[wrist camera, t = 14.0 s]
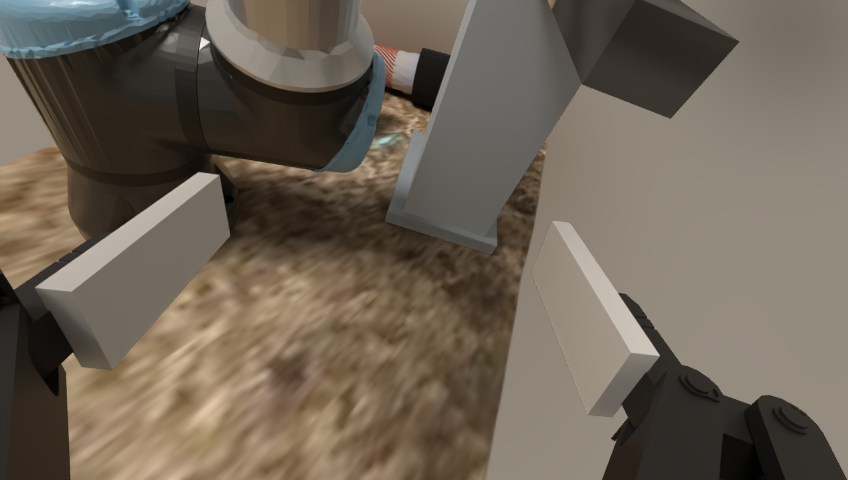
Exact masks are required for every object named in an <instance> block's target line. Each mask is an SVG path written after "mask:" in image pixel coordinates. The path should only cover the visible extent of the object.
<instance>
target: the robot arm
mask: <svg viewBox="0 0 848 480" xmlns="http://www.w3.org/2000/svg"><path fill="white" fill-rule="evenodd" d="M360 6H361V0H209V2H208V4H207V7H206V8H205V7H202V6H198V5H194V4H192V3H190V0H0V52H1V53H2V54H3V55H5V57H6V58H7V60H8V62H9V63H10V65H11V67H12V69H13V70H14V72H15V74H16V76H17V77H18V79H19V81H20V82H21V84H22V86H23V88H24V89H25V91H26V93H27V94H28V96H29V98H30V100H31V101H32V103H33V105H34V107H35V108H36V110H37V112H38V113H39V115H40V117H41V119H42V120H43V122H44V124H45V125H46V127H47V129H48V131H49V132H50V134H51V136H52V137H53V139H54V141H55V143H56V145H57V146H58V148H59V150H60V152H61V153H62V155H63V157H64V159H65V161H66V163H67V167H68V208H69V212H70V215H71V218H72V220H73V222H74V223H75V225H76V227H77V228H78V230H79V231H80V233H81V234H82V236H83V237H84V238H85V240H86V242H84V243H83V244H81V245H80V246H78V247H77V248H75V249H74V250H72V253H68V254H66V255H65V256H63V257H62V258H61V259H59V262H55V263H53V264H52V265H50V266H49V267H47V268H46V269H44V270H43V271H41V272H40V273H38V274H37V275H35V276H34V277H32V278H31V279H29V280H28V281H26V282H25V283H23V284H22V285H20V286H19V287H17V288H16V289H15V290H13V288H12V287H11V285H10V283H9V282H8V280H7V279H6V277H5V276H4V274H3V273H2V271H1V269H0V480H70V457H69V434H68V411H67V387H66V372H65V370H64V368H63V366H62V365H61V363H62V362H63V361H64V360H65V359H66V358H67V357H68V356H69V355H70V354H72V353H74V355H75V356H76V358H77V360H78V361H79V363H80V365H81V367H86V368H97V369H108V370H113V369H114V368H115V367H116V365H117V364H118V363H119V362H120V361H121V360H122V359H123V358H124V356H125V355H126V354H127V353H128V352H129V351H130V350H131V348H132V347H133V346H134V345H135V344H136V343H137V342H138V340H139V339H140V338H141V337H142V336H143V335H144V334H145V332H146V331H147V330H148V329H149V328H150V327H151V326H152V324H153V323H154V322H155V321H156V320H157V319H158V318H159V316H160V315H161V314H162V313H163V312H164V311H165V310H166V308H167V307H168V306H169V305H170V304H171V303H172V302H173V301H174V299H175V298H176V297H177V296H178V295H179V294H180V293H181V291H182V290H183V289H184V288H185V287H186V286H187V285H188V283H189V282H190V281H191V280H192V279H193V278H194V277H195V275H196V274H197V273H198V272H199V271H200V270H201V269H202V267H203V266H204V265H205V264H206V263H207V262H208V261H209V259H210V258H211V257H212V256H213V255H214V254H215V253H216V252H217V250H218V249H219V248H220V247H221V246H222V245H223V244H224V242H225V241H226V240H227V239H228V238H229V237H230V229H231V228H232V227H233V225H234V224H235V222H236V220H237V218H238V215H239V211H240V202H239V194H238V189H237V186H236V183H235V181H234V179H233V177H232V176H231V174H230V173H229V171H228V169H227V168H226V166H225V165H224V163H223V162H222V160H221V158H220V157H219V155H221V156H228V157H234V158H241V159H247V160H253V161H259V162H265V163H271V164H277V165H283V166H289V167H295V168H301V169H308V170H312V171H314V172H324V171H330V172H340V173H346V172H350V171H353V170H354V169H356V168H357V167H358V166H359V165H360V164H361V163H362V161H363V160H364V158H365V156H366V154H367V152H368V150H369V148H370V145H371V143H372V140H373V137H374V134H375V131H376V121H377V119H378V117H379V115H380V111H381V108H382V103H383V97H384V90H385V80H386V67H385V61H384V59H383V57H382V55H381V54H379V53H378V52H376V51H375V50H374V40H373V36H372V32H371V29H370V27H369V25H368V24H367V21H366V20H365V18H364V17H363V16H362V14H361V13H360ZM531 274H532V277H533V279H534V282H535V284H536V287H537V289H538V292H539V294H540V296H541V299H542V302H543V304H544V307H545V309H546V312H547V314H548V317H549V319H550V322H551V324H552V327H553V330H554V332H555V335H556V337H557V340H558V342H559V345H560V347H561V350H562V352H563V355H564V357H565V360H566V362H567V365H568V367H569V370H570V372H571V375H572V377H573V380H574V382H575V385H576V387H577V390H578V392H579V395H580V398H581V400H582V403H583V405H584V408H585V410H586V413H587V415H594V416H605V417H613V416H614V414H615V413H616V412H617V411H618V409H619V408H620V407H621V405H623V408H624V410H625V412H626V414H627V416H628V419H627V420H626V421H625V422H624V423H623V425H622V426H621V427H620V428H619V429H618V431H617V432H616V433H615V434H614V436H613V437H612V438H611V439H612V440H614V441H616V440H617V441H616V444H615V446H614V449H613V452H612V455H611V457H610V460H609V463H608V465H607V468H606V471H605V473H604V476H603V479H602V480H847V479H846V477H845V475H844V473H843V471H842V469H841V467H840V465H839V463H838V461H837V459H836V457H835V455H834V453H833V451H832V449H831V447H830V445H829V444H828V441H827V440H826V438H825V436H824V434H823V432H822V431H821V430H820V428H819V427H818V425H817V424H816V423H815V422H814V421H813V420H812V419H811V418H810V417H808V416H807V414H806V413H804V412H803V411H802V410H800V409H799V408H797V407H796V406H794V405H792V404H790V403H788V402H786V401H785V400H783V399H780V398H777V397H774V396H770V395H765V396H761V397H760V398H759V399H757V400H756V401H755V402H754V403H753V404H752V405H750V404H747V403H744V402H741V401H738V400H736V399H733V398H730V397H727V396H724V395H723V394H722V393H721V391H720V389H719V388H718V386H717V385H715V384H714V383H713V382H712V381H711V380H710V379H709V378H708V377H706V376H705V375H703V374H702V373H700V372H699V371H697V370H695V369H693V368H690V367H688V366H683V365H681V363H680V362H679V361H678V359H677V358H676V357H675V355H674V354H673V352H672V351H671V350H670V348H669V347H668V345H667V344H666V343H665V341H664V340H663V338H662V337H661V336H660V334H659V333H658V331H657V330H654V326H653V325H652V323H651V322H650V320H648V319H647V316H646V315H645V313H644V312H643V311H642V309H641V308H640V306H639V305H638V304H637V303H635V302H634V301H633V300H632V299H631V298H630V297H628V296H627V295H626V294H622V293H617V291H616V290H615V288H614V287H613V285H612V284H611V283H610V281H609V280H608V278H607V277H606V275H605V274H604V272H603V271H602V269H601V268H600V266H599V265H598V263H597V262H596V260H595V259H594V258H593V256H592V255H591V253H590V251H589V250H588V248H587V247H586V246H585V244H584V243H583V241H582V240H581V238H580V237H579V235H578V234H577V232H576V231H575V229H574V228H573V227H572V225H571V223H569V222H561V221H554V220H552V222H551V224H550V227H549V229H548V232H547V234H546V237H545V239H544V242H543V245H542V247H541V249H540V252H539V254H538V257H537V259H536V262H535V265H534V267H533V269H532V272H531Z"/></svg>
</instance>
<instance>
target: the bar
mask: <svg viewBox="0 0 848 480" xmlns="http://www.w3.org/2000/svg"><path fill="white" fill-rule="evenodd" d="M548 2H549V5H550V7H551V10H552V12H553V15H554V17H555V19H556V22H557V24H558V27H559V29H560V32H561V34H562V37H563V39H564V41H565V44H566V46H567V49H568V51H569V54H570V56H571V59H572V61H573V63H574V66H575V68H576V71H577V73H578V76H579V78H580V81H581V83H582V84H583V85H585V86H588V87H590V88H593V89H595V90H598V91H601V92H603V93H606V94H608V95H611V96H614V97H616V98H619V99H621V100H624V101H626V102H629V103H631V104H634V105H637V106H639V107H642V108H644V109H647V110H650V111H652V112H655V113H657V114H660V115H662V116H665V117H668V118H672V117H673V115H674V114H675V113H676V112H677V111H678V110H679V109H680V108H681V107H682V105H683V104H684V103H685V102H686V101H687V100H688V99H689V98H690V97H691V95H692V94H693V93H694V92H695V91H696V90H697V89H698V87H699V86H700V85H701V84H702V83H703V82H704V81H705V80H706V79H707V78H708V76H709V75H710V74H711V73H712V72H713V71H714V70H715V69H716V67H717V66H718V65H719V64H720V63H721V62H722V61H723V60H724V58H725V57H726V56H727V55H728V54H729V53H730V52H731V51H732V49H733V48H734V47H735V46H736V45H737V44H738V43H739V41H738V40H736V39H735V38H733V37H732V36H730V35H729V34H728V33H726V32H725V31H723V30H722V29H720V28H719V27H718V26H716V25H715V24H713V23H712V22H710V21H709V20H707V19H706V18H704V17H703V16H701V15H700V14H699V13H697V12H696V11H694V10H693V9H691V8H690V7H688V6H687V5H685V4H684V3H683V2H681V1H679V0H548Z"/></svg>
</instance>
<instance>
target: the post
mask: <svg viewBox="0 0 848 480" xmlns="http://www.w3.org/2000/svg"><path fill="white" fill-rule="evenodd" d="M581 84H582V83H581V81H580V78H579V76H578V73H577V71H576V68H575V66H574V63H573V61H572V59H571V56H570V54H569V51H568V49H567V46H566V44H565V41H564V39H563V37H562V34H561V32H560V29H559V27H558V24H557V22H556V19H555V17H554V15H553V12H552V10H551V7H550V5H549V2H548V0H469V3H468V6H467V9H466V12H465V15H464V18H463V21H462V24H461V27H460V30H459V33H458V36H457V39H456V42H455V45H454V48H453V51H452V54H451V57H450V59H449V62H448V65H447V68H446V71H445V74H444V77H443V80H442V83H441V86H440V89H439V92H438V95H437V98H436V101H435V104H434V107H433V110H432V113H431V116H430V119H429V122H428V125H427V128H426V131H425V134H424V133H421V132H418V131H415V130H414V131H413V134H412V137H411V140H410V143H409V146H408V149H407V152H406V155H405V159H404V162H403V165H402V168H401V171H400V174H399V177H398V180H397V183H396V187H395V190H394V193H393V196H392V199H391V202H390V205H389V208H388V211H387V215H386V218H385V222H388V223H391V224H394V225H397V226H401V227H404V228H407V229H410V230H413V231H416V232H420V233H423V234H426V235H429V236H432V237H435V238H439V239H442V240H445V241H448V242H451V243H454V244H458V245H461V246H464V247H467V248H470V249H474V250H477V251H480V252H483V253H486V254H489V255H491V254H492V253H493V252H494V250H495V249H496V247H497V216H498V214H499V213H500V211H501V210H502V208H503V207H504V205H505V203H506V202H507V200H508V199H509V197H510V196H511V194H512V192H513V191H514V189H515V188H516V186H517V185H518V183H519V181H520V180H521V178H522V177H523V175H524V174H525V172H526V170H527V169H528V167H529V166H530V164H531V163H532V161H533V159H534V158H535V156H536V155H537V153H538V152H539V150H540V148H541V147H542V145H543V144H544V142H545V141H546V139H547V137H548V136H549V134H550V133H551V131H552V130H553V128H554V127H555V125H556V123H557V122H558V120H559V119H560V117H561V116H562V114H563V112H564V111H565V109H566V107H567V106H568V104H569V103H570V101H571V100H572V98H573V96H574V95H575V94H576V92H577V90H578V89H579V87H580V86H581Z"/></svg>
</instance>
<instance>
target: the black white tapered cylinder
mask: <svg viewBox="0 0 848 480" xmlns="http://www.w3.org/2000/svg"><path fill="white" fill-rule="evenodd" d="M374 50H375V51H376V52H378V53H379V54H381V55H382V57H383V59H384V61H385V67H386V80H385V82H386V83H385V86H386V87H389V88H392V89H396V90H400V91H403V92H404V93H407V94H411V102H415V103H418V104H422V105H426V106H429V107H434V104H435V101H436V98H437V95H438V92H439V89H440V86H441V83H442V80H443V77H444V74H445V71H446V68H447V65H448V62H449V59H450V57H451V55H448V54H445V53H441V52H437V51H434V50H430V49H426V48H423V49H422V51H421V53H420V55H419V54H416V53H408V52H404V51H401V50H396V49H393V48H389V47H385V46H382V45H374Z"/></svg>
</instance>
